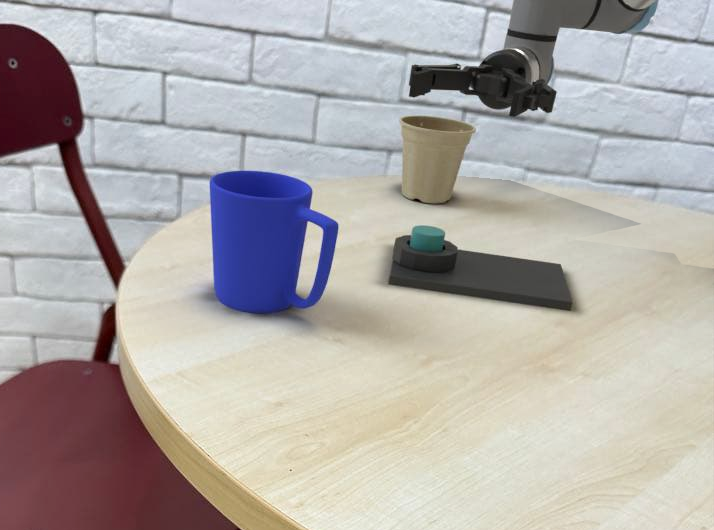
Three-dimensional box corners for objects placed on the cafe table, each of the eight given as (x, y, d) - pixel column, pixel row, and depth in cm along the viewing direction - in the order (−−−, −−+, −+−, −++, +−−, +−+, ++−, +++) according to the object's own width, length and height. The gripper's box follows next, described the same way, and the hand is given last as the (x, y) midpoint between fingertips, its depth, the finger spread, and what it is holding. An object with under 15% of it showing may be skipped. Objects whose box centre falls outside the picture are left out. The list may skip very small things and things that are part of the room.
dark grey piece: (557, 277, 87) (565, 248, 86) (568, 316, 78) (578, 285, 77) (393, 253, 88) (398, 224, 86) (386, 290, 79) (391, 258, 78)
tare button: (442, 246, 83) (445, 227, 82) (441, 256, 81) (445, 237, 80) (410, 241, 83) (413, 223, 82) (408, 251, 81) (411, 232, 80)
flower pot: (372, 190, 108) (383, 116, 103) (422, 183, 113) (434, 112, 108) (427, 211, 102) (440, 134, 97) (476, 203, 108) (492, 129, 103)
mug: (287, 348, 67) (299, 218, 61) (186, 299, 73) (187, 177, 67) (354, 325, 72) (370, 203, 66) (254, 281, 78) (261, 165, 72)
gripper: (583, 122, 122) (550, 145, 106) (422, 91, 130) (369, 109, 114) (599, 63, 118) (567, 78, 102) (431, 35, 125) (377, 45, 109)
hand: (462, 95), depth 108 cm, fingers open, 13 cm apart
